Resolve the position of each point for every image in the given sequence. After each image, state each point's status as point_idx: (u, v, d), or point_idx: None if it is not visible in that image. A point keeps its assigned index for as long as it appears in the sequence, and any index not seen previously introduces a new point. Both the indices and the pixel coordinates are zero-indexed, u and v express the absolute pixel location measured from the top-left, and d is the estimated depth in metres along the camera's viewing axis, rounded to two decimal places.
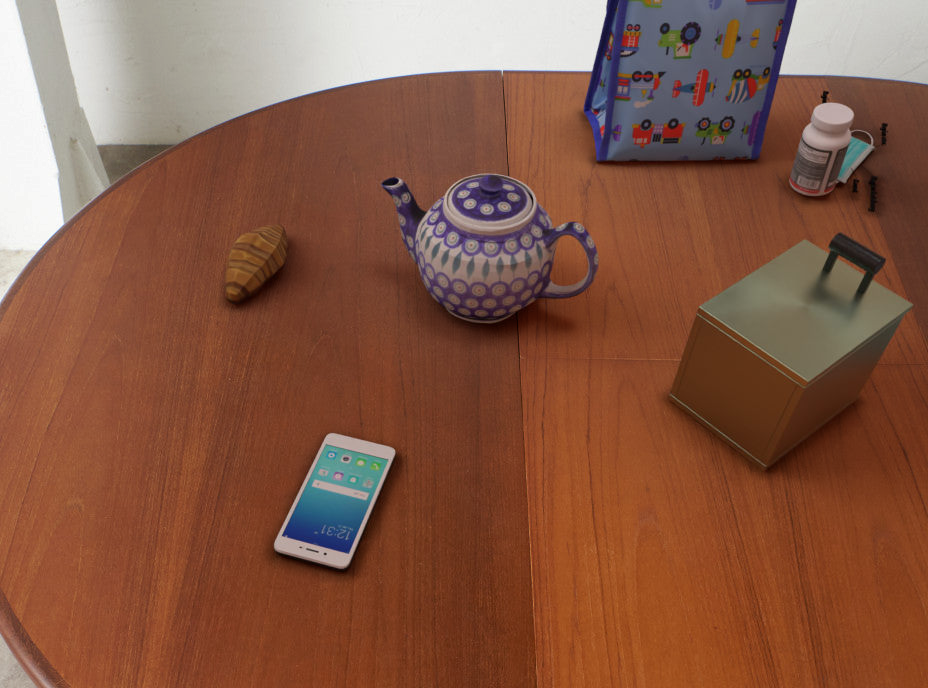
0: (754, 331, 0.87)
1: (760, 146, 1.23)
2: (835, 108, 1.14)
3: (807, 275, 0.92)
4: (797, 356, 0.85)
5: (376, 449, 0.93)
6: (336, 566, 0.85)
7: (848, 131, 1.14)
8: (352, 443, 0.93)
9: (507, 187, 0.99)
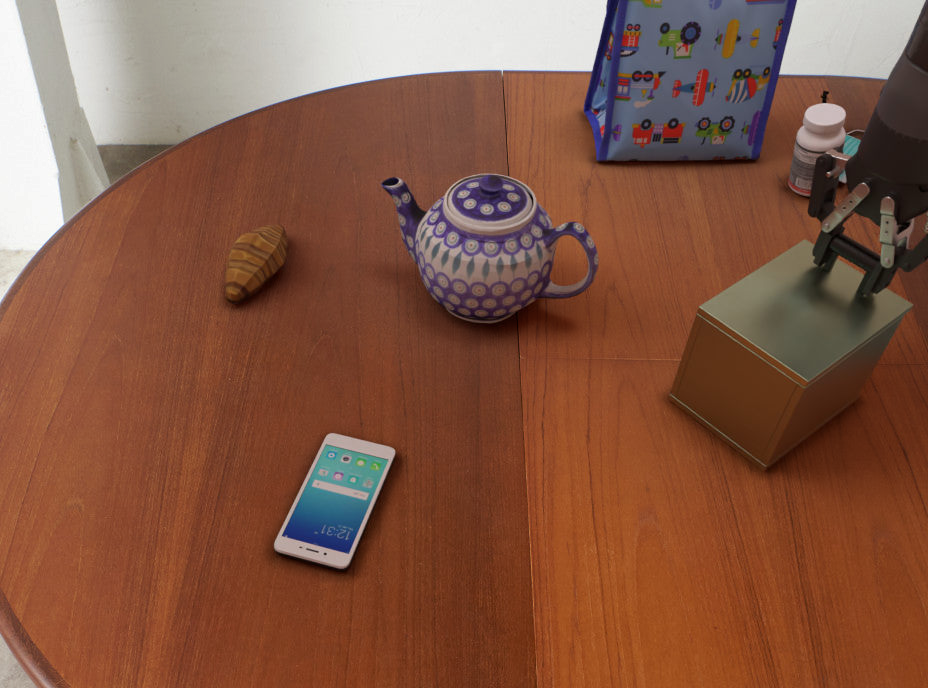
0: (754, 331, 0.87)
1: (760, 146, 1.23)
2: (827, 109, 1.14)
3: (807, 275, 0.92)
4: (797, 356, 0.85)
5: (376, 449, 0.93)
6: (336, 566, 0.85)
7: (842, 130, 1.14)
8: (352, 443, 0.93)
9: (507, 187, 0.99)
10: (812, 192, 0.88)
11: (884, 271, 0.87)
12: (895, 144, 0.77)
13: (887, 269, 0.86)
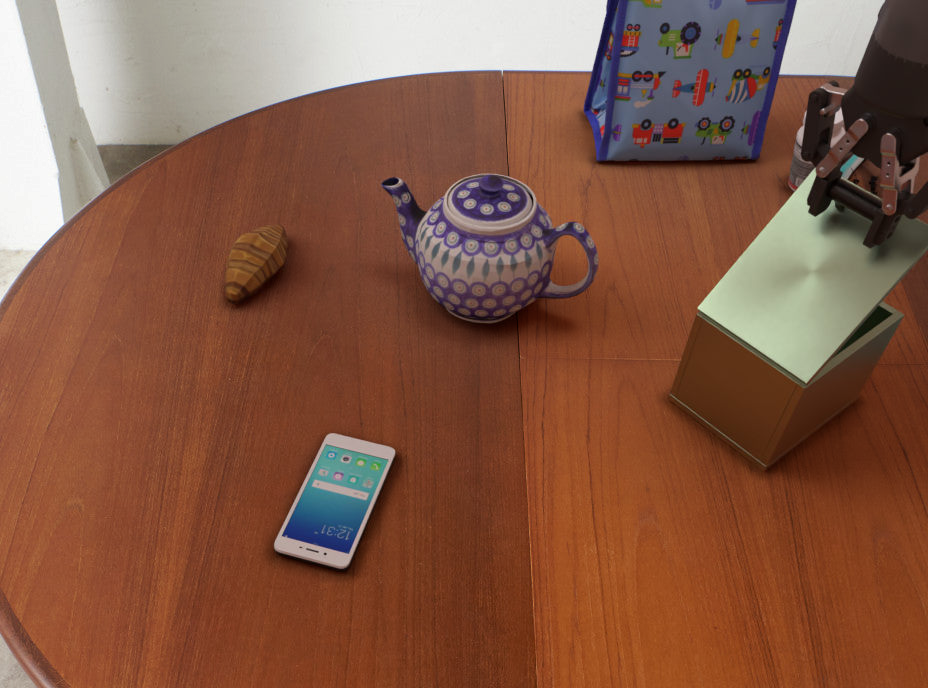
0: (752, 328, 0.86)
1: (760, 146, 1.23)
2: None
3: (816, 224, 0.85)
4: (796, 350, 0.84)
5: (376, 449, 0.93)
6: (336, 566, 0.85)
7: (842, 130, 1.14)
8: (352, 443, 0.93)
9: (507, 187, 0.99)
10: (805, 133, 0.79)
11: (886, 219, 0.78)
12: (895, 71, 0.68)
13: (889, 217, 0.78)
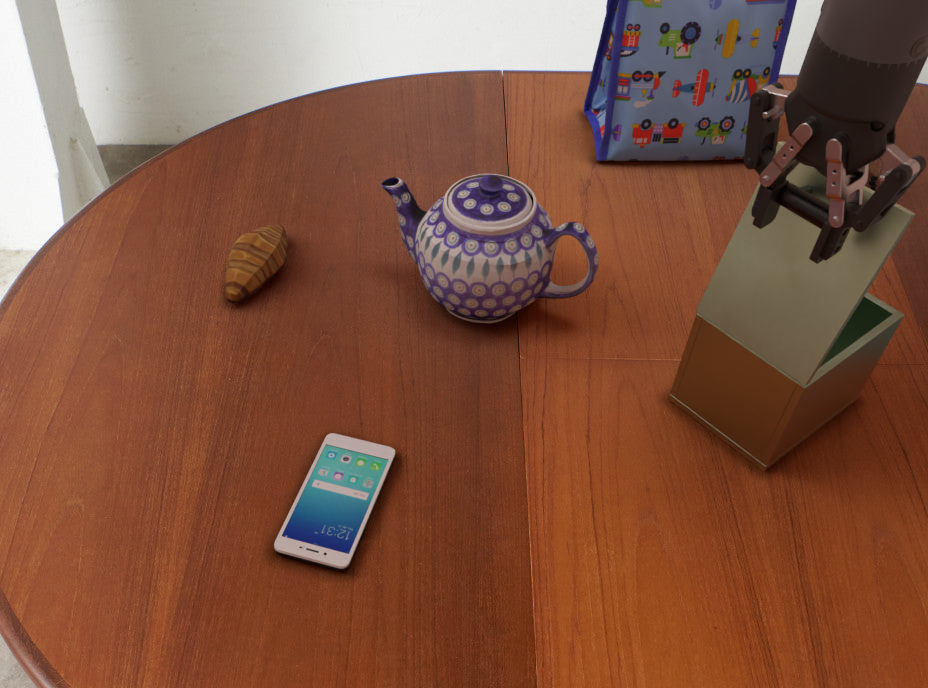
0: (748, 330, 0.85)
1: None
2: None
3: (788, 213, 0.79)
4: (790, 352, 0.83)
5: (376, 449, 0.93)
6: (336, 566, 0.85)
7: None
8: (352, 443, 0.93)
9: (507, 187, 0.99)
10: (748, 138, 0.73)
11: (833, 232, 0.72)
12: (838, 69, 0.62)
13: (837, 229, 0.72)
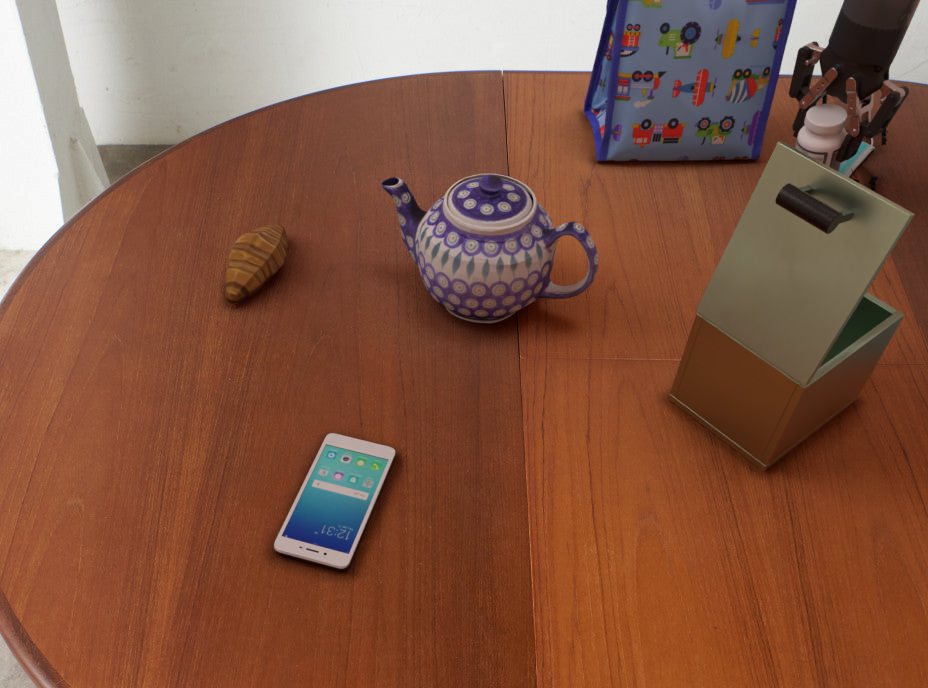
0: (747, 330, 0.85)
1: (760, 146, 1.23)
2: (828, 109, 1.14)
3: (787, 213, 0.79)
4: (790, 352, 0.83)
5: (376, 449, 0.93)
6: (336, 566, 0.85)
7: (843, 131, 1.14)
8: (352, 443, 0.93)
9: (507, 187, 0.99)
10: (793, 77, 1.14)
11: (852, 140, 1.13)
12: (855, 33, 1.03)
13: (854, 138, 1.12)
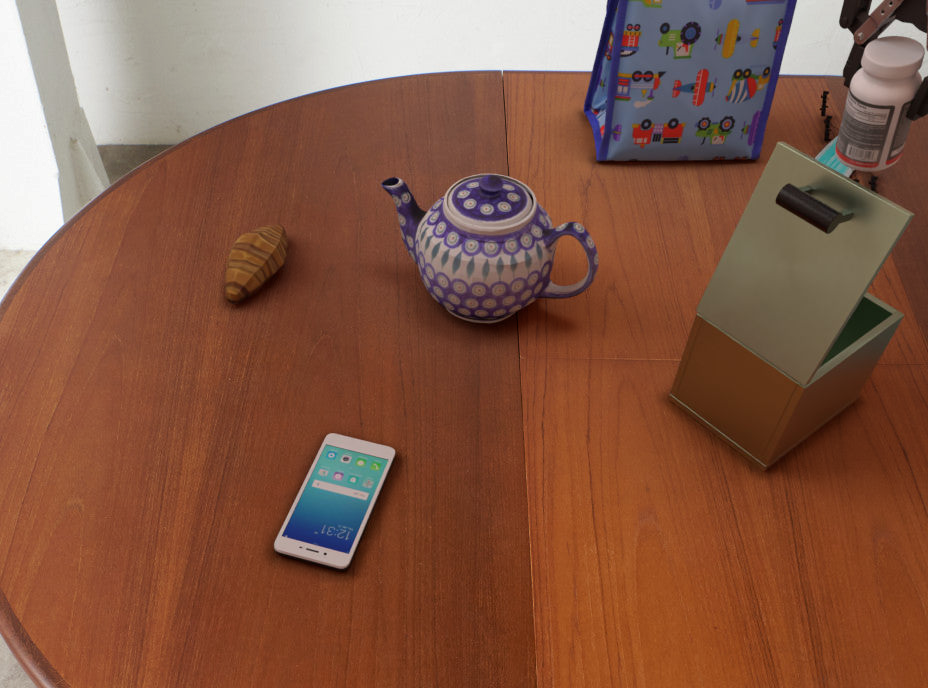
0: (747, 330, 0.85)
1: (760, 146, 1.23)
2: (897, 44, 0.79)
3: (787, 213, 0.79)
4: (790, 352, 0.83)
5: (376, 449, 0.93)
6: (336, 566, 0.85)
7: (917, 75, 0.79)
8: (352, 443, 0.93)
9: (507, 187, 0.99)
10: None
11: None
12: None
13: None
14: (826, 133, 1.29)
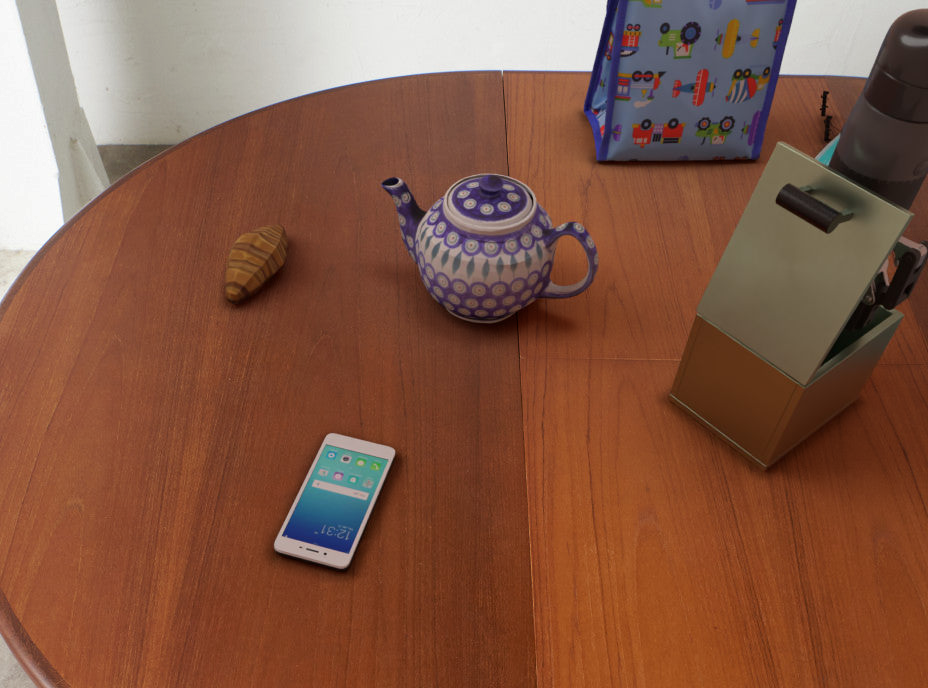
0: (747, 330, 0.85)
1: (760, 146, 1.23)
2: None
3: (787, 213, 0.79)
4: (790, 352, 0.83)
5: (376, 449, 0.93)
6: (336, 566, 0.85)
7: None
8: (352, 443, 0.93)
9: (507, 187, 0.99)
10: None
11: (866, 308, 0.85)
12: None
13: (869, 306, 0.85)
14: (826, 133, 1.29)
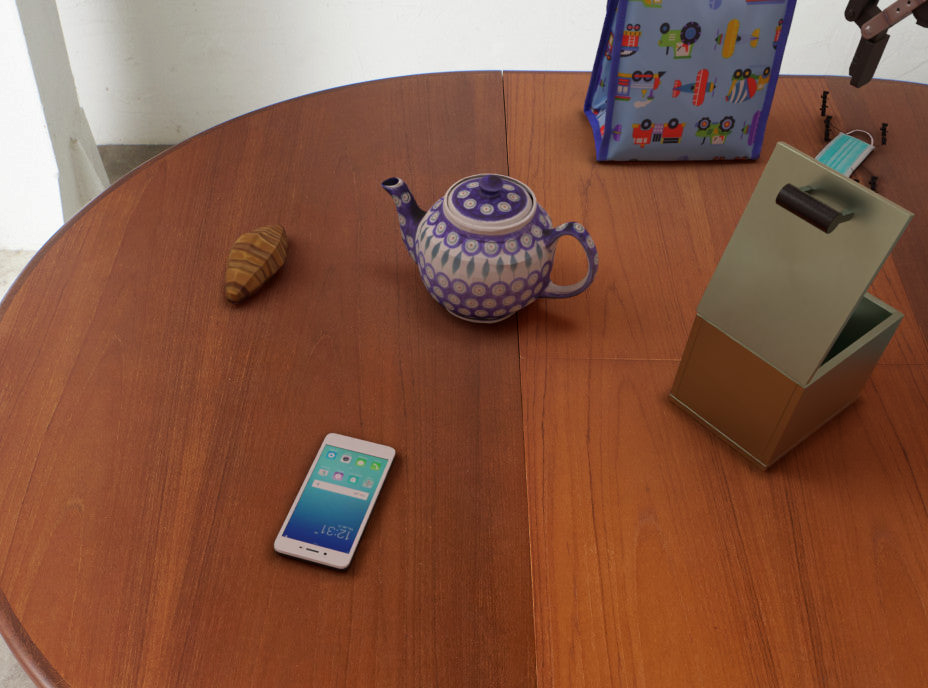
0: (747, 330, 0.85)
1: (760, 146, 1.23)
2: None
3: (787, 213, 0.79)
4: (790, 352, 0.83)
5: (376, 449, 0.93)
6: (336, 566, 0.85)
7: None
8: (352, 443, 0.93)
9: (507, 187, 0.99)
10: None
11: None
12: None
13: None
14: (826, 133, 1.29)
